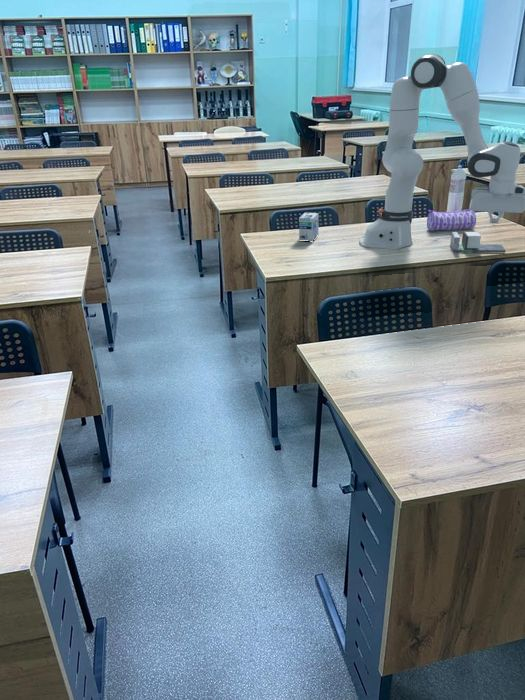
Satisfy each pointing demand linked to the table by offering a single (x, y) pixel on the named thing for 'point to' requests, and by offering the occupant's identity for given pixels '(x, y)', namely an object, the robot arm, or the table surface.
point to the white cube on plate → (471, 239)
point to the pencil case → (451, 220)
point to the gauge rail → (482, 248)
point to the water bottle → (456, 190)
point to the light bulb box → (308, 226)
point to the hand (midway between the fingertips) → (493, 223)
